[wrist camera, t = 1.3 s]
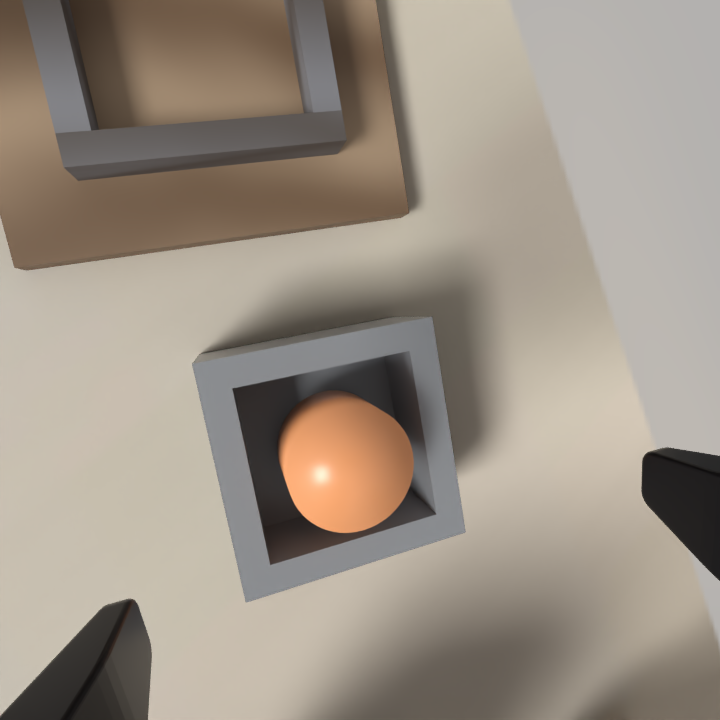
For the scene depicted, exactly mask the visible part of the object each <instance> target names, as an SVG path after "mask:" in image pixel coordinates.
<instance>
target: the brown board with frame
mask: <svg viewBox="0 0 720 720" xmlns="http://www.w3.org/2000/svg"><path fill="white" fill-rule="evenodd" d="M408 213H409V209H408V202H407V196H406V190H405V183H404V177H403V171H402V164H401V158H400V152H399V145H398V139H397V132H396V126H395V120H394V113H393V107H392V101H391V94H390V88H389V81H388V75H387V69H386V62H385V56H384V50H383V43H382V37H381V31H380V24H379V18H378V11H377V5H376V0H0V216H1V219H2V223H3V227H4V231H5V234H6V238H7V242H8V245H9V249H10V253H11V257H12V260H13V264H14V268H18V269H23V270H33V269H40V268H47V267H54V266H61V265H68V264H76V263H83V262H90V261H97V260H104V259H111V258H118V257H125V256H132V255H140V254H147V253H154V252H161V251H168V250H175V249H182V248H189V247H196V246H203V245H211V244H218V243H225V242H232V241H239V240H246V239H253V238H260V237H267V236H275V235H282V234H289V233H296V232H303V231H310V230H317V229H324V228H331V227H338V226H346V225H353V224H360V223H367V222H374V221H381V220H388V219H395V218H401V217H403V216H404V215H406V214H408Z"/></svg>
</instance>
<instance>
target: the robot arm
mask: <svg viewBox="0 0 720 720" xmlns="http://www.w3.org/2000/svg"><path fill="white" fill-rule="evenodd" d="M642 496H643V498H644V501H645V502H646V504H647V505H648V506H649V508H650V509H651V510H652V511H653V512H654V513H655V514H656V515H657V516H658V517H659V518H660V519H661V520H662V521H663V522H664V524H665V525H666V526H667V527H668V528H669V529H670V530H671V531H672V532H673V533H674V534H675V535H676V536H677V537H678V538H679V540H680V541H681V542H682V543H683V544H684V545H685V546H686V547H687V548H688V549H689V550H690V551H691V552H692V553H693V554H694V556H696V558H698V560H699V561H700V562H701V563H702V564H703V565H704V566H705V567H706V568H707V569H708V570H709V571H710V572H711V573H712V574H713V575H714V576H715V577H716V578H717V579H718V580H719V581H720V456H717V455H711V454H705V453H699V452H692V451H686V450H680V449H674V448H661V449H657V450H654V451H650V452H648V453H646V454H645V455H644V457H643V461H642ZM151 660H152V652H151V644H150V639H149V636H148V633H147V630H146V627H145V624H144V622H143V619H142V616H141V613H140V610H139V607H138V604H137V603H136V601H135V600H133V599H126V600H122V601H119V602H115V603H112V604H108V605H106V606H104V607H103V608H102V609H100V610H99V611H98V613H97V614H96V615H95V616H94V617H93V618H92V619H91V620H90V621H89V622H88V623H87V624H86V625H85V626H84V627H83V628H82V630H81V631H80V632H79V633H78V634H77V635H76V636H75V637H74V638H73V639H72V640H71V641H70V642H69V643H68V644H67V646H66V647H65V648H64V649H63V650H62V651H61V652H60V653H59V654H58V655H57V656H56V657H55V658H54V659H53V660H52V661H51V663H50V664H49V665H48V666H47V667H46V668H45V669H44V670H43V671H42V672H41V673H40V674H39V675H38V676H37V677H36V679H35V680H34V681H33V682H32V683H31V684H30V685H29V686H28V687H27V688H26V689H25V690H24V691H23V692H22V693H21V694H20V696H19V697H18V698H17V699H16V700H15V701H14V702H13V703H12V704H11V705H10V706H9V707H8V708H7V709H6V710H5V711H4V713H3V714H2V715H1V716H0V720H148V708H149V692H150V676H151Z"/></svg>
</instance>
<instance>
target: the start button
mask: <svg viewBox="0 0 720 720" xmlns="http://www.w3.org/2000/svg"><path fill="white" fill-rule="evenodd" d="M277 454H278V460H279V464H280V467H281V470H282V472H283V475H284V478H285V481H286V484H287V487H288V490H289V492H290V495H291V497H292V500H293V502H294V504H295V505H296V507H297V509H298V510H299V511H300V512H301V514H302V515H303V516H304V517H305V518H306V519H308V520H309V521H310V522H312V523H313V524H315V525H316V526H318V527H320V528H322V529H325V530H328V531H332V532H338V533H352V532H358V531H362V530H366V529H368V528H371V527H373V526H375V525H377V524H379V523H380V522H382V521H383V520H385V519H386V518H387V517H389V516H390V515H391V514H392V513H393V512H394V511H395V510H396V509H397V508H398V506H399V505H400V504H401V502H402V501H403V499H404V497H405V496H406V494H407V492H408V489H409V487H410V484H411V480H412V476H413V470H414V458H413V451H412V447H411V444H410V441H409V438H408V436H407V435H406V433H405V431H404V430H403V428H402V427H401V426H400V424H399V423H398V422H397V421H396V420H395V419H394V418H392V417H391V416H390V415H388V414H387V413H385V412H384V411H382V410H380V409H379V408H377V407H375V406H374V405H372V404H370V403H369V402H367V401H365V400H364V399H362V398H360V397H359V396H357V395H355V394H352V393H349V392H345V391H338V390H329V391H323V392H319V393H316V394H313V395H311V396H309V397H307V398H305V399H304V400H302V401H301V402H299V403H298V404H297V405H296V406H295V407H294V408H293V409H292V410H291V411H290V412H289V414H288V415H287V416H286V418H285V420H284V422H283V424H282V426H281V428H280V431H279V435H278V441H277Z"/></svg>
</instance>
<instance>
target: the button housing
mask: <svg viewBox="0 0 720 720" xmlns="http://www.w3.org/2000/svg"><path fill="white" fill-rule="evenodd" d="M192 366H193V370H194V374H195V379H196V383H197V388H198V392H199V397H200V401H201V406H202V410H203V414H204V419H205V423H206V428H207V432H208V437H209V441H210V445H211V450H212V454H213V459H214V463H215V468H216V472H217V477H218V481H219V485H220V490H221V494H222V499H223V503H224V508H225V512H226V516H227V521H228V525H229V530H230V534H231V539H232V543H233V548H234V552H235V556H236V561H237V565H238V570H239V574H240V579H241V583H242V587H243V592H244V596H245V601H246V602H250V601H253V600H256V599H259V598H262V597H265V596H268V595H271V594H275V593H278V592H281V591H284V590H287V589H290V588H293V587H296V586H300V585H303V584H306V583H309V582H312V581H315V580H318V579H321V578H324V577H328V576H331V575H334V574H337V573H340V572H343V571H346V570H349V569H353V568H356V567H359V566H362V565H365V564H368V563H371V562H374V561H378V560H381V559H384V558H387V557H390V556H393V555H396V554H399V553H402V552H406V551H409V550H412V549H415V548H418V547H421V546H424V545H427V544H431V543H434V542H437V541H440V540H443V539H446V538H449V537H452V536H456V535H459V534H462V533H465V532H466V531H465V525H464V519H463V512H462V506H461V499H460V493H459V486H458V480H457V473H456V467H455V461H454V454H453V448H452V441H451V435H450V428H449V422H448V415H447V409H446V403H445V396H444V390H443V383H442V377H441V370H440V364H439V357H438V351H437V345H436V338H435V332H434V325H433V319H432V317H390V318H384V319H379V320H374V321H369V322H364V323H359V324H353V325H348V326H343V327H338V328H333V329H327V330H322V331H317V332H312V333H307V334H302V335H296V336H291V337H286V338H281V339H276V340H270V341H265V342H260V343H255V344H250V345H245V346H239V347H234V348H229V349H224V350H219V351H214V352H208V353H203V354H199V356H198V357H197V358H196V359H195V361H194V362H193V363H192ZM329 390H338V391H345V392H349V393H352V394H355V395H357V396H359V397H360V398H362V399H364V400H365V401H367V402H369V403H370V404H372V405H374V406H375V407H377V408H379V409H380V410H382V411H384V412H385V413H387V414H388V415H390V416H391V417H392V418H394V419H395V420H396V421H397V422H398V423H399V424H400V426H401V427H402V428H403V430H404V431H405V433H406V435H407V436H408V438H409V441H410V444H411V447H412V451H413V458H414V470H413V476H412V480H411V484H410V487H409V489H408V492H407V494H406V496H405V497H404V499H403V501H402V502H401V504H400V505H399V506H398V508H397V509H396V510H395V511H394V512H393V513H392V514H391V515H390V516H389V517H387V518H386V519H385V520H383V521H382V522H380V523H379V524H377V525H375V526H373V527H371V528H368V529H366V530H362V531H358V532H352V533H338V532H332V531H328V530H325V529H322V528H320V527H318V526H316V525H315V524H313V523H312V522H310V521H309V520H308V519H306V518H305V517H304V516H303V515H302V514H301V512H300V511H299V510H298V509H297V507H296V505H295V504H294V502H293V500H292V497H291V495H290V492H289V490H288V487H287V484H286V481H285V478H284V475H283V472H282V470H281V467H280V464H279V460H278V454H277V441H278V435H279V431H280V428H281V426H282V424H283V422H284V420H285V418H286V416H287V415H288V414H289V412H290V411H291V410H292V409H293V408H294V407H295V406H296V405H297V404H298V403H299V402H301V401H302V400H304V399H305V398H307V397H309V396H311V395H313V394H316V393H319V392H323V391H329Z"/></svg>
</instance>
